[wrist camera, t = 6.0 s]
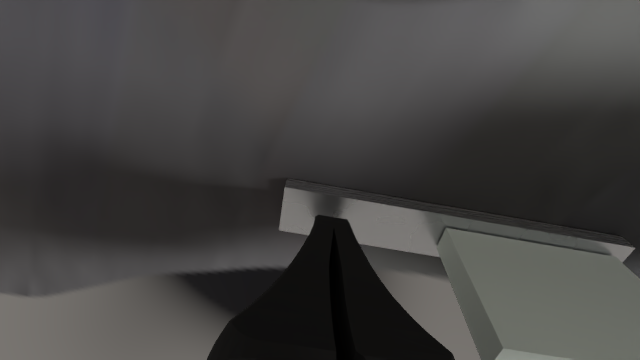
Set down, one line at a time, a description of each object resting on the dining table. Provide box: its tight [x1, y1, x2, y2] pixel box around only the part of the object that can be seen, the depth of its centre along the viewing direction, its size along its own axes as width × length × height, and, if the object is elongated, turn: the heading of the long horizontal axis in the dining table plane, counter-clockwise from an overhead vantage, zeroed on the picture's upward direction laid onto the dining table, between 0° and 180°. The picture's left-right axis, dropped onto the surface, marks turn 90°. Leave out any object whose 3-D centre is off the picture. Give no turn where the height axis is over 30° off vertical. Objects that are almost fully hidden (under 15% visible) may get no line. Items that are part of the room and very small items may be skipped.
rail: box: [279, 178, 635, 263], centre depth 15 cm, size 16×2×1 cm, turn 80°
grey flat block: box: [437, 228, 640, 360], centre depth 12 cm, size 8×1×6 cm, turn 80°
